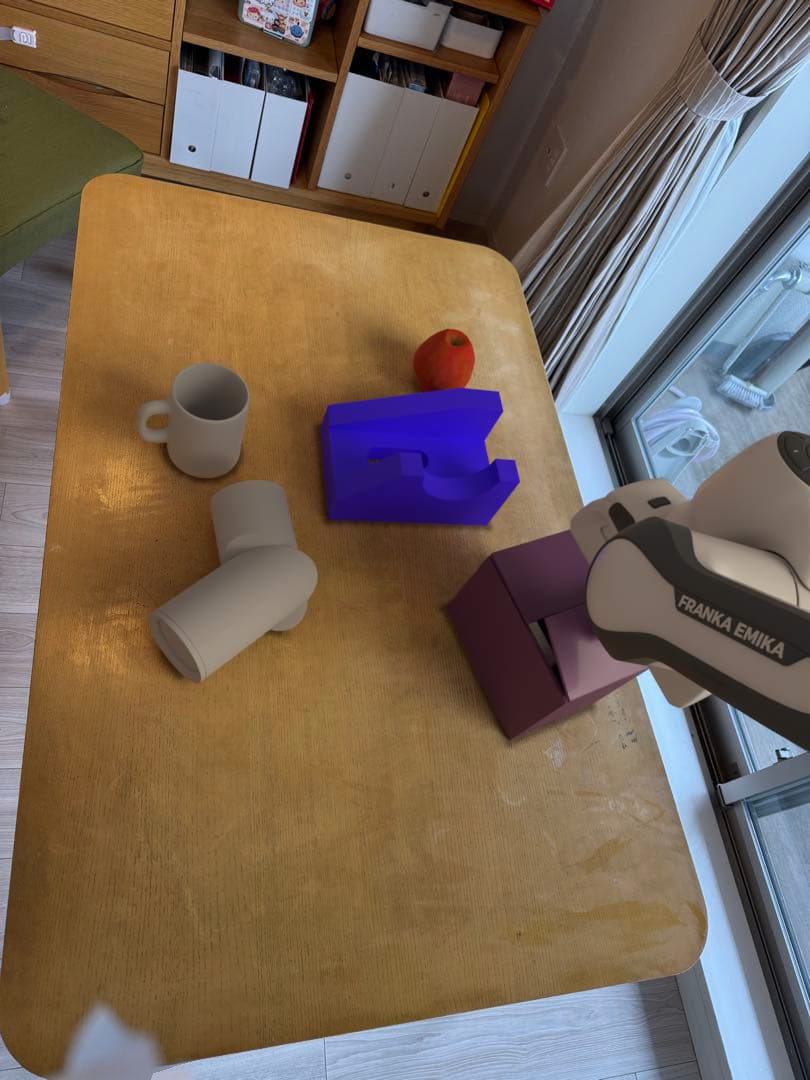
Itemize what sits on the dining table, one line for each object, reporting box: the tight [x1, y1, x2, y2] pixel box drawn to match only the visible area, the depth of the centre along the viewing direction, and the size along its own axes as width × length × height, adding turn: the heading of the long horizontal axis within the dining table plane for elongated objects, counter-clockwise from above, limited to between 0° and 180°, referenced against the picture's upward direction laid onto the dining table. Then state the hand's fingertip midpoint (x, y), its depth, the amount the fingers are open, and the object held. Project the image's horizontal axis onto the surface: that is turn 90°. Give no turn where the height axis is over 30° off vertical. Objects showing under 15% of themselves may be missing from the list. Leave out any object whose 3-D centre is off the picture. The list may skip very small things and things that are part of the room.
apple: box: [412, 328, 476, 393], centre depth 105 cm, size 8×8×11 cm
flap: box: [544, 604, 648, 701], centre depth 78 cm, size 8×12×1 cm
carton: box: [444, 529, 649, 741], centre depth 86 cm, size 17×12×14 cm
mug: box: [136, 362, 251, 479], centre depth 88 cm, size 12×8×11 cm
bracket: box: [319, 387, 521, 527], centre depth 96 cm, size 21×14×10 cm, turn 98°
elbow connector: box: [146, 479, 319, 684], centre depth 81 cm, size 18×11×20 cm
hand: (604, 628), depth 77 cm, fingers closed
